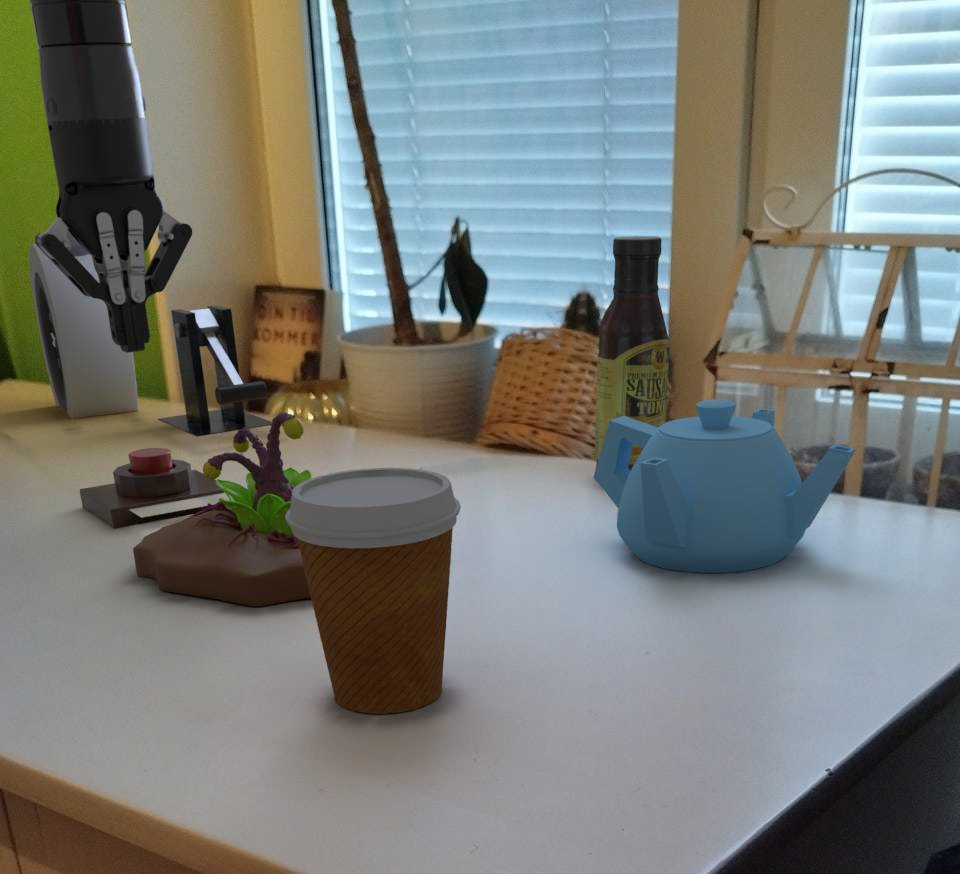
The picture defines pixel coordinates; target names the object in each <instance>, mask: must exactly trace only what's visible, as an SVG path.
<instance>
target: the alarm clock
mask: <svg viewBox="0 0 960 874" xmlns="http://www.w3.org/2000/svg"><path fill="white" fill-rule="evenodd" d="M67 234H68V237H69V239H70V240H71V243H72V248H71V250H70V252H71V254H72V255H73V256H74V257H75V258H76V259H77V260H78V261H79V262H80V263H81V264H82V265H83V266H84V267H85V269H86V270H87V271H88V272H89V273H90V274H91V275H92V276H93V277H94V278H95V279H96V280H97V281H98V282H99V278H98V274H97V272H96V271H95V268H94V264H93V260H92V256H91V255H90V254H88V253H87V252H86V251H85V250H84V249H83V247H82V246H81V245H80V244H79V243H78V242H77V241H76V239H75V238H74V237H73V236H72V235H71V234H70V232H69V231H68V232H67ZM28 264H29V277H30V285H31V286H30V287H31V292H32V293H31V294H32V299H33V307H34V313H35V317H36V323H37V328H38V335H39V339H40V343H41V348H42V353H43V354H42V355H43V358H44V363H45V367H46V371H47V377H48V380H49V385H50V389H51V392H52V395H53V400H54V403H55V406H56V407H58V406H61V407H62V408H63V409H64V410H65V412H66V413H67V414H68V416H69V417H70V418H71V419H80V418H81V419H82V418H88V417H98V416H107V415H115V414H124V413H132V412H138V411H139V394H138V384H137V374H136V368H135V359H134V352H129V353H127V352H124V351H122V350H121V347H120V346H119V345H117V344H115V343H114V341H113V339H112V335H111V329H110V323H109V317H108V310H107V306H106V304H105V302H104V301H102V300H101V299H95V298H92V297H89V296H85V295H83V294H82V293H81V292H80V291H79V290H78V288H77V287H76V286H75V285H74V284H73V283H72V282H71V281H70V280H69V279H68V278H67V277H66V276H65V275H64V274H63V273H62V272H61V271H60V270H59V268H58V267H57V266H56V265H55V264H54V263H53V262H52V261H51V260H50V259H49V258H48V257H47V256H46V255H45V254H44V253H43V252H42V251H41V250H40V248H39V247H38V246H37V245H36V243H33V242H32V243H31V245H29V251H28ZM99 283H100V282H99Z"/></svg>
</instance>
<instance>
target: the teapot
mask: <svg viewBox="0 0 960 874" xmlns="http://www.w3.org/2000/svg"><path fill="white" fill-rule="evenodd" d="M695 406H696V411H697V415H698V416H692V417H691V416H690V417H682V418H677V419H672V420H669V421H666V423H664V424H662V425H661V426H660V427H659V428H658V427H655V426H652V425H649V424H646V423H643V422H640V421H637V420H635V419H632V418H629V417H626V416H622V417H619V418H616V419H613V420H610V422H609V425H608V429H607V432H606V436H605V439H604V443H603V446H602V449H601V453H600V456H599V460H598V463H597V462H596V464H597V467H596V466H595V470H594V474H593V478H594V479H595V481H596V482H597V484H598V485H599V486H600V487H601V489H602V490H603V491H604V492H605V493H606V495H607V496H608V497H609V499H610V500H611V501H612V502H613V504H614V505H615V506H616V507H617V509H618V510H617V515H616V529H617V532H618V535H619V537H620V538H621V539H622V541H623V542H624V544H625V545H626V546H627V547H628V549H629V550H630V551H631V552H632V553H633V554H634V556H635V557H636V558H637V559H639V560H640V561H642V562H644V563H646V564H648V565H652V566H654V567H657V568H662V569H665V570H671V571H676V572H677V571H678V572H685V573H697V574H698V573H700V574H702V573H703V574H721V573H722V574H724V573H726V574H727V573H738V572H745V571H750V570H756V569H761V568H765V567H768V566H771V565H774V564H775V563H777V562H779V561H781V560H782V559H784V557H786V556H787V555H788V553H790V552H791V551H792V550H793V548H795V547H796V545H797V544H798V543H799V542H800V540H801V539H803V536H804V535H805V533H806V530H807V529H808V528H810V527H811V525H812V524H813V522H814V521H815V519H816V517H817V516H818V514H819V512H820V511H821V509H822V507H823V505H824V504H825V503H826V501H827V499H828V497H829V496H830V494H831V493H832V491H833V489H834V487H835V486H836V484H837V483H838V481H839V479H840V477H841V476H842V475H843V472H844V471H845V470H846V468H847V466H848V464H849V463H850V461H851V460H852V458H853V456H854V455H855V453H856V448H855V447H850V446H846V445H845V446H844V445H840V444H833V445H831V446H829V447H828V448H827V452H826V453H825V454H824V456H823V457H822V458H821V460H820V461H819V462H818V463H817V464H816V465H815V467H814V468H813V469H812V471H811V472H810V473H809V474H808V475H807V476H806V478H805V479H804V481H803V482H802V479H801V475H800V473H799V471H798V468H797V467H796V464H795V462H794V460H793V457H792V456H791V454H790V452H789V450H788V448H787V446H786V445H785V443H784V441H783V438H781V436H780V435H779V433H778V431H777V430H776V428H775V416H776V415H775V413H776V409H769V408H759V409H756V410H754V411H752V416H751V417H747V416H735V415H734V413H735V411H736V407H737V403H736V402H735V401H733V400H730V399H718V398H717V399H716V398H715V399H714V398H713V399H705V400H701V401H700V402H697V403H696V404H695ZM633 443H634V444H636V445H638V446H640V447H642V448H644V449H643V450H642V452H641V454H640V455H639V457H638V459H637V460H636V462H635V464H634V466H633V468H632V470H631V471H630V470H629V469H628V465H629V460H630V455H631V450H632V445H633Z"/></svg>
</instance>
